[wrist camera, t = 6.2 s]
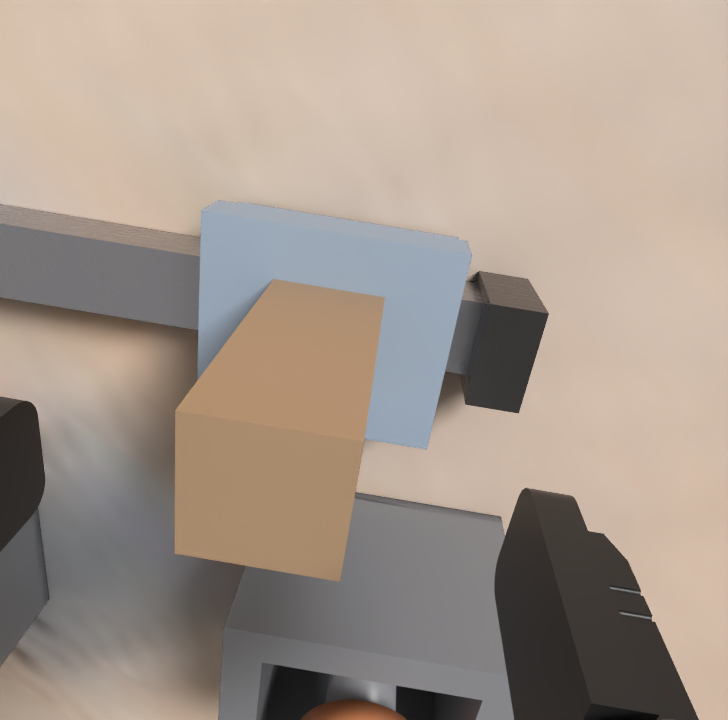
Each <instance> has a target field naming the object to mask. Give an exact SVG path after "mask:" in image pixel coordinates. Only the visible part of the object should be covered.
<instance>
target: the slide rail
mask: <svg viewBox="0 0 728 720" xmlns="http://www.w3.org/2000/svg"><path fill="white" fill-rule="evenodd" d="M200 239H201V237H195V236H189V235H183V234H177V233H171V232H165V231H159V230H153V229H146V228H140V227H134V226H128V225H122V224H116V223H110V222H104V221H98V220H92V219H86V218H80V217H74V216H68V215H61V214H55V213H49V212H43V211H37V210H31V209H25V208H19V207H13V206H7V205H1V204H0V297H1V298H7V299H13V300H19V301H25V302H31V303H37V304H43V305H49V306H55V307H61V308H67V309H73V310H79V311H85V312H91V313H97V314H103V315H109V316H115V317H121V318H127V319H133V320H139V321H145V322H152V323H158V324H164V325H170V326H176V327H182V328H188V329H194V330H198V325H199V282H200ZM548 315H549V313H548V311H547V310H546V308H545V306H544V305H543V303H542V301H541V300H540V298H539V296H538V295H537V293H536V292H535V290H534V288H533V287H532V285H531V283H530V282H529V280H528V279H524V278H518V277H512V276H506V275H500V274H494V273H488V272H481V271H479V274H478V278H477V282H476V283H474V282H468V281H466V283H465V287H464V291H463V296H462V300H461V304H460V309H459V313H458V317H457V322H456V326H455V330H454V335H453V339H452V343H451V348H450V352H449V356H448V361H447V365H446V369H445V371H446V372H452V373H458V374H461V381H462V387H463V393H464V399H465V404H466V405H472V406H478V407H484V408H490V409H496V410H502V411H508V412H514V413H519V410H520V407H521V404H522V400H523V397H524V394H525V390H526V387H527V384H528V380H529V377H530V374H531V371H532V367H533V364H534V361H535V357H536V354H537V351H538V348H539V344H540V341H541V338H542V334H543V331H544V328H545V324H546V321H547V318H548Z"/></svg>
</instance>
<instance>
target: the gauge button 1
mask: <svg viewBox="0 0 728 720" xmlns="http://www.w3.org/2000/svg"><path fill="white" fill-rule="evenodd" d="M301 720H407V719H406V718H404V717H403V716H402V715H400V714H399V713H397V712H396V685H390V684H385V683H379V682H373V681H367V680H361V679H356V678H350V677H344V676H338V675H332V674H329V681H328V688H327V695H326V702H325V704H322V705H319V706H317V707H315V708H313V709H312V710H310V711H309V712H307V713H306V714H305V715H304V716H303V717H302V719H301Z"/></svg>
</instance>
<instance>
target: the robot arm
mask: <svg viewBox="0 0 728 720" xmlns="http://www.w3.org/2000/svg"><path fill="white" fill-rule="evenodd" d="M44 486H45V473H44V464H43V456H42V447H41V439H40V430H39V422H38V414H37V410H36V408H35V406H34V405H33V404H32V403H31V402H28V401H23V400H17V399H11V398H5V397H0V552H1V551H2V550H3V548H4V547H5V546H6V545H7V544H8V543H9V542H10V541H11V539H12V538H13V537H14V536H15V535H16V534H17V533H18V531H19V530H20V529H21V528H22V527H23V526H24V525H25V523H26V522H27V521H28V520H29V519H30V518H31V517H32V515H33V514H34V512H35V511H36V509H37V507H38V505H39V503H40V501H41V498H42V495H43V491H44ZM494 592H495V601H496V607H497V614H498V620H499V626H500V633H501V639H502V645H503V652H504V658H505V664H506V671H507V677H508V683H509V690H510V696H511V702H512V709H513V715H514V720H699V719H698V717H697V715H696V712H695V710H694V708H693V706H692V703H691V701H690V699H689V697H688V695H687V692H686V690H685V688H684V686H683V683H682V681H681V679H680V677H679V674H678V672H677V670H676V668H675V666H674V663H673V661H672V659H671V657H670V654H669V652H668V650H667V648H666V645H665V643H664V641H663V639H662V637H661V634H660V632H659V630H658V628H657V625H656V623H655V622H652V614H651V612H650V610H649V607H648V605H647V603H646V601H645V599H644V596H641V595H640V592H641V590H640V587H639V585H638V583H637V581H636V578H635V576H634V574H633V572H632V569H631V567H630V565H629V563H628V561H627V560H626V559H625V557H624V556H623V555H622V554H621V553H620V552H619V551H618V550H617V548H616V547H615V546H614V545H613V544H612V543H611V542H610V541H609V540H608V538H607V537H606V536H605V535H604V534H601V533H595V532H590V531H588V530H587V527H586V525H585V522H584V520H583V517H582V514H581V512H580V509H579V507H578V504H577V502H576V500H575V498H574V497H572V496H570V495H564V494H558V493H552V492H546V491H540V490H535V489H529V488H525V489H523V490H522V492H521V493H520V495H519V498H518V500H517V503H516V506H515V509H514V512H513V515H512V518H511V521H510V524H509V527H508V530H507V533H506V536H505V538H504V541H503V544H502V547H501V550H500V553H499V556H498V560H497V564H496V570H495V581H494Z"/></svg>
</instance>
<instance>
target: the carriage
mask: <svg viewBox="0 0 728 720" xmlns="http://www.w3.org/2000/svg"><path fill="white" fill-rule="evenodd" d="M471 257H472V253H471V251H470V248H469V245H468V242H467V241H465V240H459V238H458V237H451V236H445V235H439V234H433V233H427V232H421V231H415V230H409V229H403V228H397V227H390V226H384V225H378V224H372V223H366V222H360V221H354V220H348V219H342V218H336V217H330V216H323V215H317V214H311V213H305V212H299V211H293V210H287V209H281V208H275V207H269V206H262V205H256V204H250V203H244V202H238V203H233V202H227V201H221V200H219V201H217V202H215V203H213V204H211V205H210V206H208V207H206V208H204V209H202V210H201V239H200V282H199V325H198V368H197V382H196V383H195V384H194V386H193V387H192V388H191V390H190V391H189V392H188V394H187V395H186V396H185V398H184V399H183V400H182V402H181V403H180V404H179V406H178V407H177V408H176V410H175V554H180V555H186V556H192V557H198V558H203V559H209V560H215V561H221V562H227V563H233V564H239V565H245V566H250V567H256V568H262V569H268V570H274V571H280V572H286V573H291V574H297V575H303V576H309V577H315V578H321V579H327V580H333V581H338V582H340V578H341V572H342V567H343V561H344V555H345V549H346V544H347V538H348V532H349V526H350V521H351V515H352V509H353V503H354V498H355V492H356V486H357V480H358V474H359V469H360V463H361V457H362V451H363V446H364V439H367V440H373V441H379V442H385V443H391V444H397V445H403V446H409V447H415V448H421V449H427V447H428V443H429V438H430V434H431V430H432V425H433V421H434V417H435V412H436V408H437V404H438V400H439V395H440V391H441V387H442V382H443V378H444V374H445V369H446V365H447V361H448V356H449V352H450V348H451V343H452V339H453V335H454V330H455V326H456V322H457V317H458V313H459V309H460V304H461V300H462V296H463V291H464V287H465V283H466V278H467V274H468V270H469V265H470V261H471Z"/></svg>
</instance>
